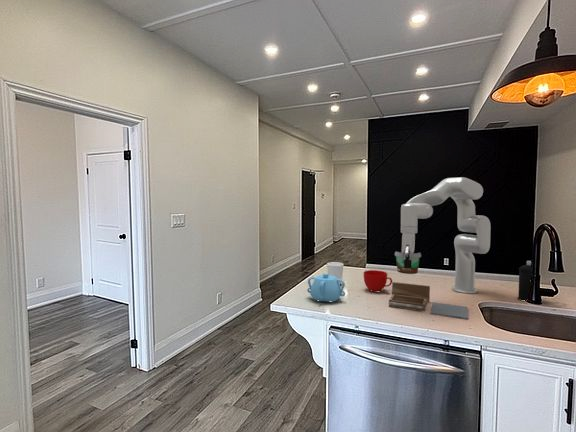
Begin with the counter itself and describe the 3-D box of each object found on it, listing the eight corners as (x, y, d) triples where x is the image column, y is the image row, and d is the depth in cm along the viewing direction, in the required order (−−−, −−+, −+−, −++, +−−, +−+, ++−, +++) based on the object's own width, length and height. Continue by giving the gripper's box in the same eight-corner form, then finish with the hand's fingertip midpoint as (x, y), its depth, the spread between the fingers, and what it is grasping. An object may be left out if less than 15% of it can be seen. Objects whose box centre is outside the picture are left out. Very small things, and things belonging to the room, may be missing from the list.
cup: (331, 281, 202) (331, 261, 201) (346, 284, 196) (346, 263, 196) (324, 285, 194) (324, 264, 193) (338, 287, 188) (338, 266, 188)
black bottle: (516, 300, 163) (517, 261, 162) (519, 296, 169) (520, 258, 168) (536, 303, 158) (538, 263, 157) (538, 299, 164) (540, 260, 163)
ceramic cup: (385, 296, 171) (385, 278, 170) (358, 290, 183) (358, 272, 183) (398, 291, 179) (398, 274, 179) (372, 285, 192) (372, 269, 191)
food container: (395, 273, 154) (395, 252, 154) (394, 271, 160) (394, 251, 160) (423, 275, 152) (423, 254, 151) (420, 272, 158) (421, 252, 157)
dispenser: (392, 296, 171) (392, 281, 170) (429, 301, 162) (429, 286, 162) (386, 306, 156) (386, 290, 155) (426, 312, 147) (427, 295, 147)
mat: (432, 303, 159) (432, 302, 159) (467, 308, 152) (467, 306, 152) (430, 314, 145) (430, 312, 145) (468, 319, 138) (468, 318, 138)
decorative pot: (317, 306, 157) (317, 278, 156) (305, 296, 172) (305, 271, 171) (347, 302, 162) (347, 276, 161) (333, 293, 177) (333, 269, 176)
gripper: (403, 227, 164) (403, 262, 165) (397, 231, 149) (397, 269, 150) (419, 228, 161) (418, 263, 162) (415, 231, 146) (414, 271, 147)
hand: (408, 266), depth 156 cm, fingers closed on food container, 6 cm apart
